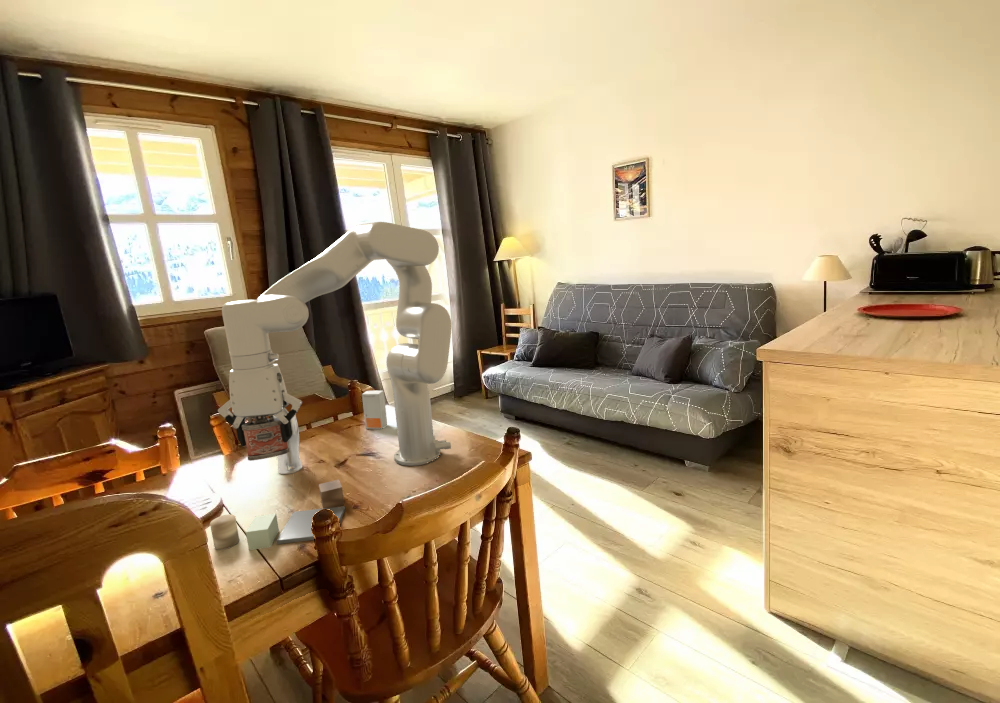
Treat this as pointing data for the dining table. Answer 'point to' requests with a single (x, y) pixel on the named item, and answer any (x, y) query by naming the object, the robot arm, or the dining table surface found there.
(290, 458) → the beer glass
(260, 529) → the sage block
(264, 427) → the lighter
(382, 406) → the skincare box
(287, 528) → the coaster
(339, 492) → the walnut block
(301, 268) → the robot arm
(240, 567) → the dining table surface
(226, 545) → the beech cylinder
